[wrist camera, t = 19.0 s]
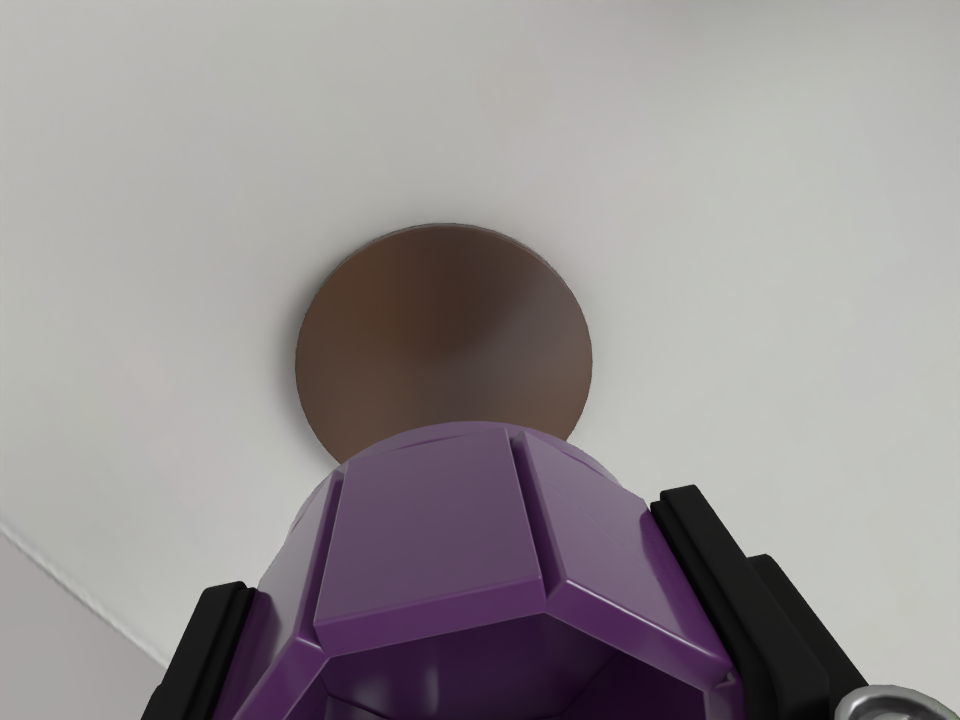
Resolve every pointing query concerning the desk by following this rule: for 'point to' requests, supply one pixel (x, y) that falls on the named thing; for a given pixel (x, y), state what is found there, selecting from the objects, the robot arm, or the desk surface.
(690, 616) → the dish plum
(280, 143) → the desk surface
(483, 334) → the coaster
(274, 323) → the desk surface
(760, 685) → the robot arm
